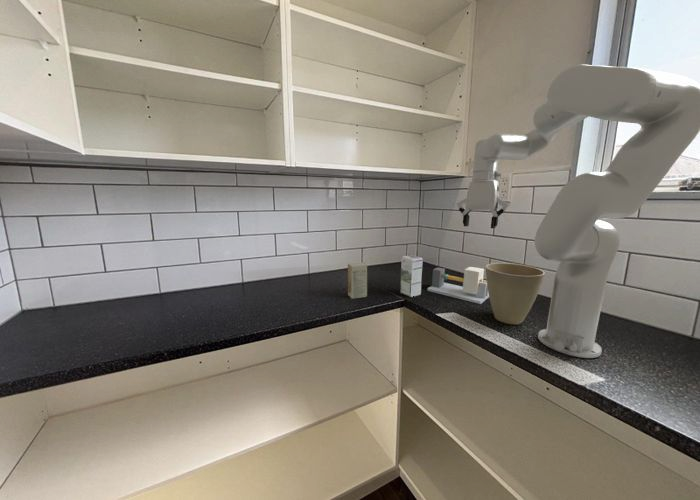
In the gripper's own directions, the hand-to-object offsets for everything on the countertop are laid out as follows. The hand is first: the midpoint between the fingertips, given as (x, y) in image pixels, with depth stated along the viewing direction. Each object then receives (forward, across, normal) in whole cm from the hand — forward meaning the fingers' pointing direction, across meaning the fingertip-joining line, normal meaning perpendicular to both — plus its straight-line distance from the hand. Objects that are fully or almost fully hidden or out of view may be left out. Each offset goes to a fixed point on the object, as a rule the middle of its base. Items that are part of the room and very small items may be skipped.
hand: (479, 227), depth 98 cm
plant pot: (+26, -15, +13) cm, 33 cm away
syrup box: (+26, +18, +14) cm, 35 cm away
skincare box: (+26, +31, +30) cm, 51 cm away
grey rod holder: (+26, +5, 0) cm, 27 cm away
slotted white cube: (+24, 0, 0) cm, 24 cm away
